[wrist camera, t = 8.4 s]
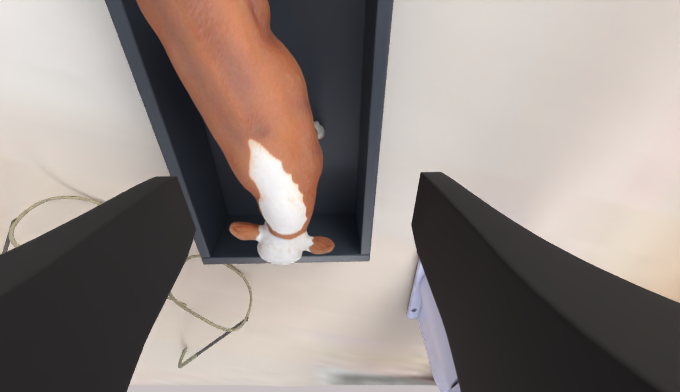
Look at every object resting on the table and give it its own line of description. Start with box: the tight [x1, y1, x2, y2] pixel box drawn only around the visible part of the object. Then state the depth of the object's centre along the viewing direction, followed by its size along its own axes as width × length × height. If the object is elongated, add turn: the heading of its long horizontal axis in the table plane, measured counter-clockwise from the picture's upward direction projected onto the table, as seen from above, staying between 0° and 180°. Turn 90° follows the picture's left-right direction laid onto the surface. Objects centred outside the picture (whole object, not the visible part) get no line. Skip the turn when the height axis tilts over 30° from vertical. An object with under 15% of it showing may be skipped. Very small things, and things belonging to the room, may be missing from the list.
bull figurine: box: [136, 0, 334, 265], centre depth 13 cm, size 4×13×8 cm, turn 11°
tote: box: [105, 0, 393, 264], centre depth 15 cm, size 18×10×4 cm, turn 0°
